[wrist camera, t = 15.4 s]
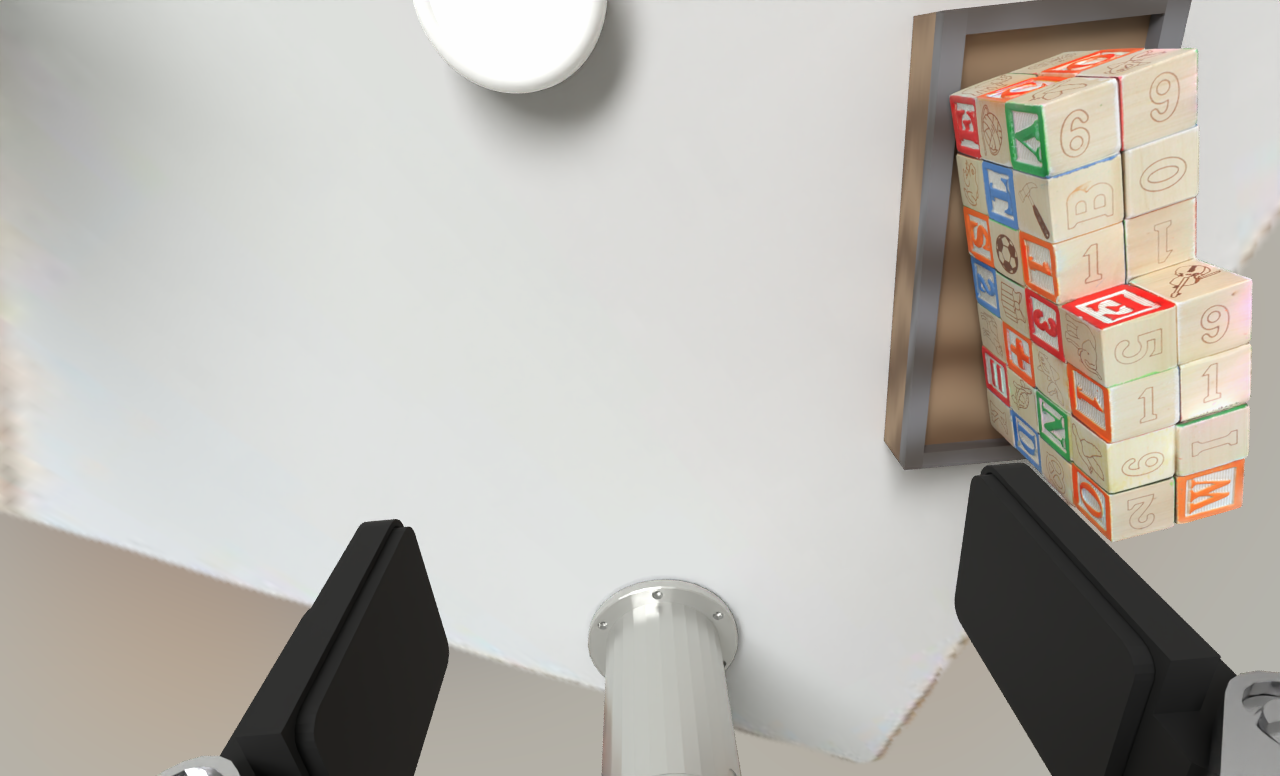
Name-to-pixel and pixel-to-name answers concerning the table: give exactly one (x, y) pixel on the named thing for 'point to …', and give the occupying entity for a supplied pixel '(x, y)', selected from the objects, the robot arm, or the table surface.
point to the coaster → (513, 39)
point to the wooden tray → (934, 218)
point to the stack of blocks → (1105, 287)
